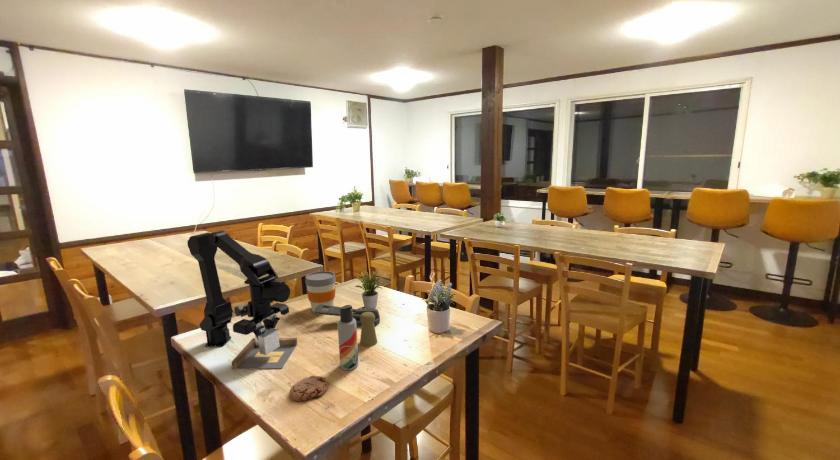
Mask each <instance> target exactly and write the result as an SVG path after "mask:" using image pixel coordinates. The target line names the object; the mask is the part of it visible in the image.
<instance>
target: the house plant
mask: <svg viewBox="0 0 840 460" xmlns="http://www.w3.org/2000/svg"><path fill="white" fill-rule="evenodd" d="M377 273H378V271H376V272H375V271H372V274H371V277H370V275H369V273H368V271H366V275H365V274H364V272H362V271H361V276H362V278H360V277H358V276H356V278H357V279H358V281H360V282H361V283H362V284H361V285H359V284H357V285H355V286H354V287H355V288H360V289H363V290H364V291H363V292H362V293H361V298H362V302H363V306H364V309H377V308H378V307H377V306H378V299H379V292H378V291H377V290H378V289H381V290H383V287H381V286H382V285H383V284H382V283H383V281H381V282H379V280H380V279H383V278H385V277H384V276H385V275H386V273H385V274H382V275H380V276H378V277H377V278H376V276H377Z"/></svg>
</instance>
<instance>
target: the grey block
mask: <svg viewBox="0 0 840 460" xmlns="http://www.w3.org/2000/svg"><path fill="white" fill-rule="evenodd" d="M279 335H280V334H279V329H278V328H269V327H265V333H263V334H261V335H259V336H258V339H257V337H256V336H255V335H254V338H255V342H256V345H257V346H259V350H260V354H263V355H267V354H268V353H270V352H272V351H273V350H275V349H276V348H278V347H280V344H279V338H280V336H279Z"/></svg>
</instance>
